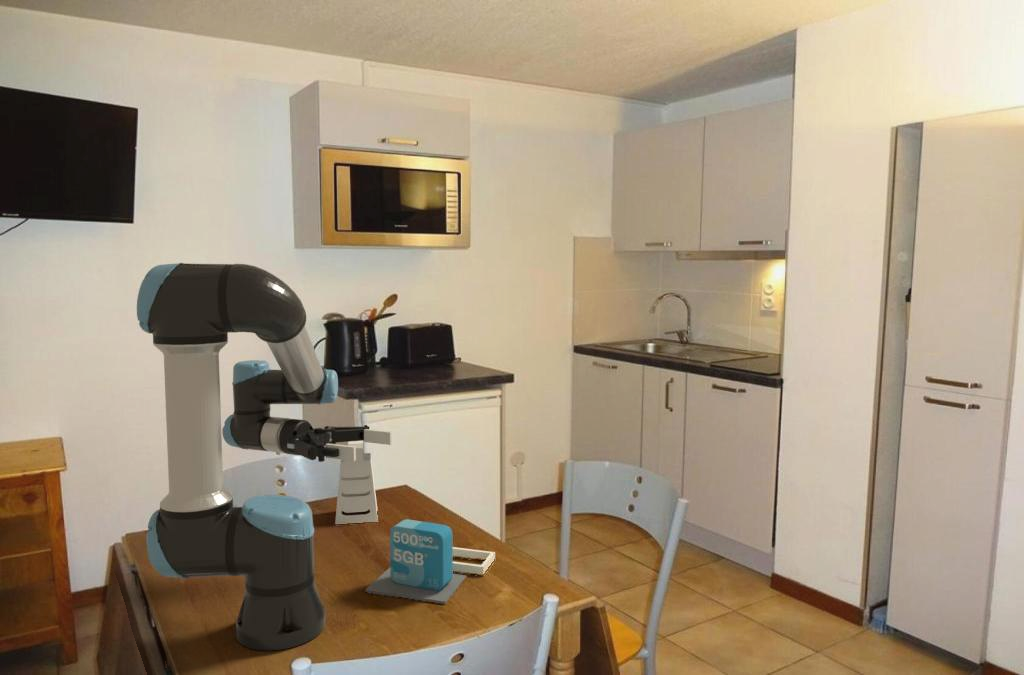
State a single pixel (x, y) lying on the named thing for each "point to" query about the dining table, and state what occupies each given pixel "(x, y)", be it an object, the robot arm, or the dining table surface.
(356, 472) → the grater
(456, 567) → the cradle
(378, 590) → the mat
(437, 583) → the blue rounded block
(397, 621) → the dining table surface
